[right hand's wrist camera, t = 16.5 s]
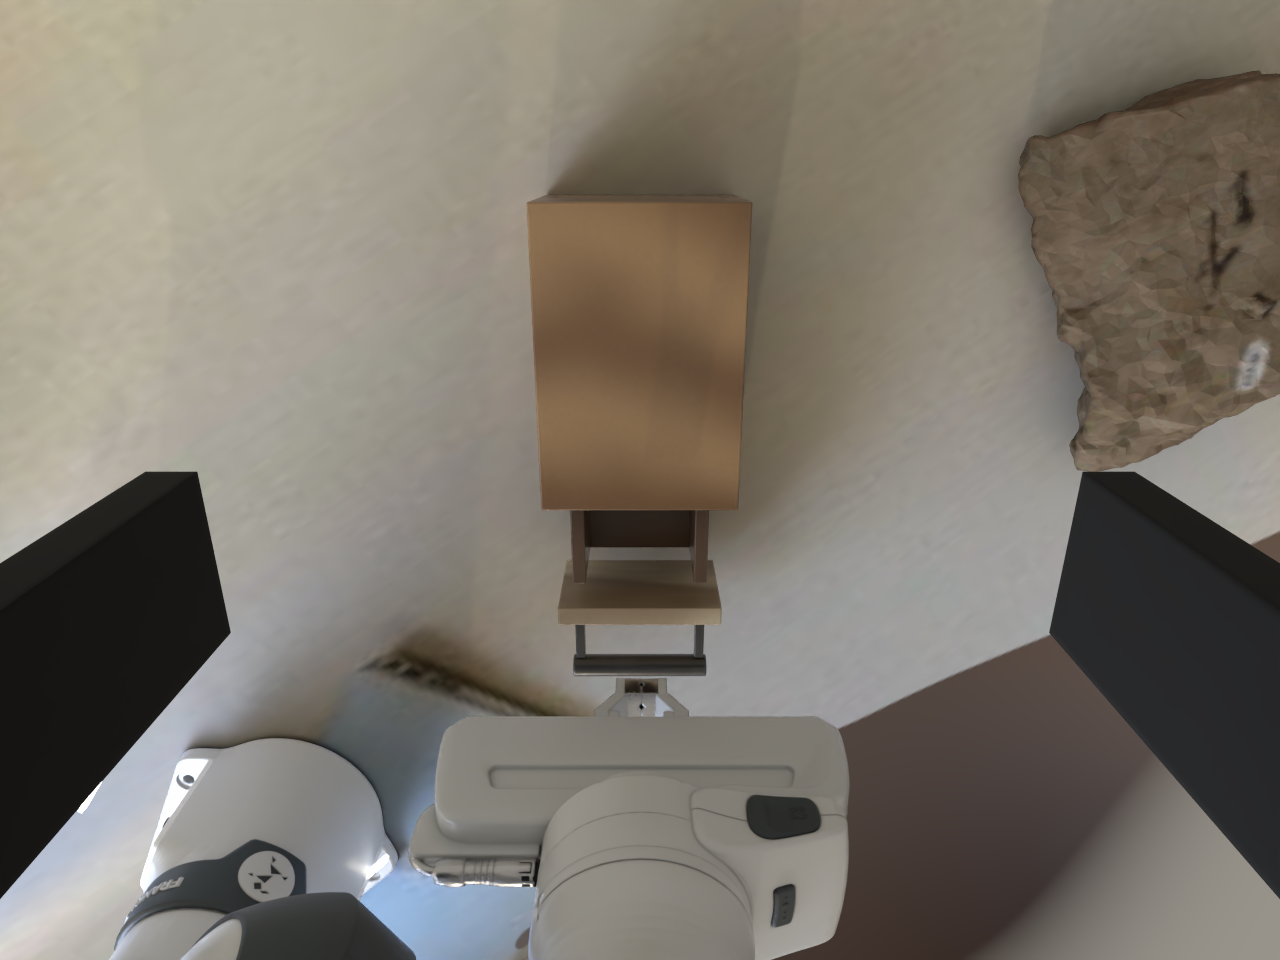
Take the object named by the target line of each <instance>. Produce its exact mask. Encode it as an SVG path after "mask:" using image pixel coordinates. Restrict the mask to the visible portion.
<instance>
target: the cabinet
mask: <svg viewBox="0 0 1280 960" xmlns="http://www.w3.org/2000/svg"><path fill="white" fill-rule="evenodd" d="M751 217H752V202H749V201H747V200H744V199H742V198H739V197H737V196H734V195H545V196H543V197H540V198H538V199H535V200H532V201H530V202H527V221H528V241H529V262H530V283H531V304H532V324H533V345H534V366H535V387H536V408H537V428H538V449H539V470H540V491H541V509H542V510H738V497H739V476H740V454H741V433H742V411H743V389H744V368H745V346H746V325H747V303H748V282H749V260H750V238H751Z"/></svg>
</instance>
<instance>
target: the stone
mask: <svg viewBox="0 0 1280 960" xmlns="http://www.w3.org/2000/svg"><path fill="white" fill-rule="evenodd" d="M1019 163H1020V165H1021V169H1020V171H1019V174H1018V176H1019V191H1020V195H1021V197H1022V199H1023V202H1024V206H1025V207H1026V209H1027V210H1028V211H1029V213H1030V214H1031V215H1032V217H1033V219H1034V221H1033V225H1032V229H1031V231H1032V249H1033V251H1034V253H1035V256H1036V258H1037V260H1038V261H1039V263H1040V264H1041V265H1042V266H1043V268H1044V272H1045V275H1046V278H1047V280H1048V282H1049V285H1050V287H1051V288H1052V289H1053V293H1052V296H1053V299H1054V301H1055V303H1056V305H1057V323H1058V326H1057V335H1058V337H1059V339H1060V340H1061V341H1062V342H1066V343H1068V344H1069V345H1071V346H1072V347H1073V348H1074V350H1075V359H1076V361H1077V363H1078V365H1079V368H1080V377H1081V379H1082V381H1083V383H1084V384H1085V388H1084V391H1083V393H1082V395H1081V397H1080V398H1079V400H1078V408H1077V415H1078V419H1079V424H1080V426H1079V430H1078V432H1077V434H1076V435H1075V437H1074V438H1073V439H1072V441H1071V443H1070V451H1071V453H1072V456H1073V458H1074V464H1075V466H1076V469H1077V470H1085V471H1091V472H1098V471H1103V470H1107V469H1112V468H1120V467H1124V466H1126V465H1128V464H1130V463H1135V462H1140V461H1142V460H1144V459H1146V458H1148V457H1151V456H1153V455H1155V454H1157V453H1159V452H1160V451H1161V450H1163V449H1165V448H1168V447H1171V446H1174V445H1178V444H1180V443H1181V442H1183V441H1185V440H1187V439H1190V438H1192V437H1193V436H1194V435H1195V434H1196V433H1197V432H1199V431H1200V430H1202V429H1203V428H1205V427H1207V426H1210V425H1212V424H1214V423H1215V422H1217V421H1218V420H1220V419H1222V418H1224V417H1231V416H1235V415H1238V414H1239V413H1241V412H1243V411H1245V410H1247V409H1248V408H1250V407H1251V406H1253V405H1254V404H1256V403H1258V402H1261V401H1264V400H1266V399H1269V398H1271V397H1275V396H1276V395H1278V394H1280V74H1261V72H1260V71H1252V72H1247V73H1243V74H1238V75H1232V76H1227V77H1221V78H1214V79H1197V80H1194V81H1191V82H1188V83H1184V84H1181V85H1178V86H1175V87H1173V88H1170V89H1166V90H1162V91H1159V92H1157V93H1154V94H1152V95H1149V96H1146V97H1144V98H1143V99H1141V100H1140V101H1139V102H1137V103H1136V104H1135V105H1133V106H1132V107H1130V108H1129V109H1127V110H1125V111H1121V112H1110V113H1108V114H1104V115H1103V116H1101V117H1100V118H1099V119H1097V120H1094V121H1091V122H1087V123H1084V124H1080V125H1077V126H1076V127H1074V128H1073V129H1071V130H1068V131H1065V132H1062V133H1059V134H1057V135H1054V136H1051V137H1049V138H1048V137H1044V136H1033V137H1031V138H1029V139H1028V141H1027V143H1026V146H1025V149H1024V151H1023V153H1022V155H1021V156H1020V162H1019Z"/></svg>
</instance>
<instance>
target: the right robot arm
mask: <svg viewBox="0 0 1280 960" xmlns="http://www.w3.org/2000/svg"><path fill="white" fill-rule="evenodd" d="M230 633H231V632H230V627H229V622H228V617H227V613H226V608H225V603H224V598H223V593H222V589H221V584H220V579H219V574H218V569H217V565H216V560H215V555H214V550H213V545H212V541H211V536H210V531H209V526H208V521H207V517H206V512H205V507H204V502H203V497H202V493H201V488H200V483H199V478H198V473H197V472H144V473H143V474H141V475H140V476H138V477H136V478H135V479H133V480H132V481H130V482H129V483H127V484H125V485H124V486H122V487H121V488H119V489H117V490H116V491H114V492H113V493H111V494H109V495H108V496H106V497H105V498H103V499H102V500H100V501H98V502H97V503H95V504H94V505H92V506H90V507H89V508H87V509H86V510H84V511H83V512H81V513H79V514H78V515H76V516H75V517H73V518H71V519H70V520H68V521H67V522H65V523H64V524H62V525H60V526H59V527H57V528H56V529H54V530H52V531H51V532H49V533H48V534H46V535H44V536H43V537H41V538H40V539H38V540H37V541H35V542H33V543H32V544H30V545H29V546H27V547H25V548H24V549H22V550H21V551H19V552H18V553H16V554H14V555H13V556H11V557H10V558H8V559H6V560H5V561H3V562H2V563H0V899H1V897H2V896H3V895H4V894H5V893H6V892H7V890H8V889H9V888H10V887H11V886H12V885H13V884H14V882H15V881H16V880H17V879H18V878H19V877H20V875H21V874H22V873H23V872H24V871H25V870H26V869H27V867H28V866H29V865H30V864H31V863H32V862H33V860H34V859H35V858H36V857H37V856H38V855H39V854H40V852H41V851H42V850H43V849H44V848H45V847H46V845H47V844H48V843H49V842H50V841H51V840H52V839H53V837H54V836H55V835H56V834H57V833H58V832H59V830H60V829H61V828H62V827H63V826H64V825H65V823H66V822H67V821H68V820H69V819H70V818H71V817H72V815H73V814H74V813H75V812H76V811H77V810H78V808H79V807H80V806H81V805H82V804H83V803H84V802H85V800H86V799H87V798H88V797H89V796H90V795H91V793H92V792H93V791H94V790H95V789H96V788H97V787H98V785H99V784H100V783H101V782H102V781H103V780H104V778H105V777H106V776H107V775H108V774H109V773H110V772H111V770H112V769H113V768H114V767H115V766H116V765H117V763H118V762H119V761H120V760H121V759H122V758H123V756H124V755H125V754H126V753H127V752H128V751H129V750H130V748H131V747H132V746H133V745H134V744H135V743H136V741H137V740H138V739H139V738H140V737H141V736H142V735H143V733H144V732H145V731H146V730H147V729H148V728H149V726H150V725H151V724H152V723H153V722H154V721H155V720H156V718H157V717H158V716H159V715H160V714H161V713H162V711H163V710H164V709H165V708H166V707H167V706H168V705H169V703H170V702H171V701H172V700H173V699H174V698H175V696H176V695H177V694H178V693H179V692H180V691H181V689H182V688H183V687H184V686H185V685H186V684H187V683H188V681H189V680H190V679H191V678H192V677H193V676H194V674H195V673H196V672H197V671H198V670H199V669H200V668H201V666H202V665H203V664H204V663H205V662H206V661H207V659H208V658H209V657H210V656H211V655H212V654H213V653H214V651H215V650H216V649H217V648H218V647H219V646H220V644H221V643H222V642H223V641H224V640H225V639H226V638H227V636H228V635H229V634H230ZM1049 633H1050V634H1051V635H1052V636H1053V637H1054V639H1055V640H1056V641H1057V642H1058V643H1059V644H1060V646H1061V647H1062V648H1063V649H1064V650H1065V651H1066V653H1067V654H1068V655H1069V656H1070V657H1071V658H1072V659H1073V661H1074V662H1075V663H1076V664H1077V665H1078V666H1079V668H1080V669H1081V670H1082V671H1083V672H1084V673H1085V674H1086V676H1087V677H1088V678H1089V679H1090V680H1091V681H1092V683H1093V684H1094V685H1095V686H1096V687H1097V688H1098V689H1099V691H1100V692H1101V693H1102V694H1103V695H1104V696H1105V698H1106V699H1107V700H1108V701H1109V702H1110V703H1111V705H1112V706H1113V707H1114V708H1115V709H1116V710H1117V711H1118V713H1119V714H1120V715H1121V716H1122V717H1123V718H1124V719H1125V721H1126V722H1127V723H1128V724H1129V725H1130V726H1131V728H1132V729H1133V730H1134V731H1135V732H1136V733H1137V735H1138V736H1139V737H1140V738H1141V739H1142V740H1143V741H1144V743H1145V744H1146V745H1147V746H1148V747H1149V748H1150V750H1151V751H1152V752H1153V753H1154V754H1155V755H1156V756H1157V758H1158V759H1159V760H1160V761H1161V762H1162V763H1163V765H1164V766H1165V767H1166V768H1167V769H1168V770H1169V771H1170V773H1171V774H1172V775H1173V776H1174V777H1175V778H1176V780H1177V781H1178V782H1179V783H1180V784H1181V785H1182V786H1183V788H1184V789H1185V790H1186V791H1187V792H1188V793H1189V795H1190V796H1191V797H1192V798H1193V799H1194V800H1195V802H1196V803H1197V804H1198V805H1199V806H1200V807H1201V808H1202V810H1203V811H1204V812H1205V813H1206V814H1207V815H1208V817H1209V818H1210V819H1211V820H1212V821H1213V822H1214V823H1215V825H1216V826H1217V827H1218V828H1219V829H1220V830H1221V832H1222V833H1223V834H1224V835H1225V836H1226V837H1227V839H1228V840H1229V841H1230V842H1231V843H1232V844H1233V845H1234V847H1235V848H1236V849H1237V850H1238V851H1239V852H1240V854H1241V855H1242V856H1243V857H1244V858H1245V859H1246V860H1247V862H1248V863H1249V864H1250V865H1251V866H1252V867H1253V869H1254V870H1255V871H1256V872H1257V873H1258V874H1259V875H1260V877H1261V878H1262V879H1263V880H1264V881H1265V882H1266V884H1267V885H1268V886H1269V887H1270V888H1271V889H1272V890H1273V892H1274V893H1275V894H1276V895H1277V896H1278V897H1279V899H1280V563H1278V562H1277V561H1275V560H1274V559H1272V558H1270V557H1269V556H1267V555H1266V554H1264V553H1262V552H1261V551H1259V550H1258V549H1256V548H1254V547H1253V546H1251V545H1250V544H1248V543H1247V542H1245V541H1243V540H1242V539H1240V538H1239V537H1237V536H1236V535H1234V534H1232V533H1231V532H1229V531H1228V530H1226V529H1224V528H1223V527H1221V526H1220V525H1218V524H1216V523H1215V522H1213V521H1212V520H1210V519H1209V518H1207V517H1205V516H1204V515H1202V514H1201V513H1199V512H1197V511H1196V510H1194V509H1193V508H1191V507H1190V506H1188V505H1186V504H1185V503H1183V502H1182V501H1180V500H1178V499H1177V498H1175V497H1174V496H1172V495H1171V494H1169V493H1167V492H1166V491H1164V490H1163V489H1161V488H1159V487H1158V486H1156V485H1155V484H1153V483H1151V482H1150V481H1148V480H1147V479H1145V478H1144V477H1142V476H1140V475H1139V474H1137V473H1136V472H1083V473H1082V478H1081V483H1080V488H1079V493H1078V497H1077V502H1076V507H1075V512H1074V517H1073V521H1072V526H1071V531H1070V536H1069V541H1068V545H1067V550H1066V555H1065V560H1064V565H1063V569H1062V574H1061V579H1060V584H1059V589H1058V593H1057V598H1056V603H1055V608H1054V613H1053V617H1052V622H1051V627H1050V632H1049Z"/></svg>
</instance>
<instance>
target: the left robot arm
mask: <svg viewBox="0 0 1280 960" xmlns="http://www.w3.org/2000/svg"><path fill="white" fill-rule="evenodd" d="M190 775H191V776H190ZM192 776H193V777H192ZM100 784H101V783H100ZM100 784H99V785H98V787H97V788H96V789H95V790H94V791H93V792H92V793H91V795H90V796H89V797H88V798H87V799H86V800H85V802H84V803H83V804H82V805H81V807H80V808H79V810H78V812H80V813H82V812H83V811H84V810H85V809H86V808H87V807H88V805H89V803H90V801H91V800H92V798H93V796H94V794H95V793H96V791H97V789H98V788H99V786H100ZM849 787H850V781H849V770H848V763H847V757H846V752H845V748H844V744H843V741H842V738H841V735H840V733H839V731H838V729H837V728H836V727H834V726H833V725H831V724H830V723H828V722H826V721H825V720H823V719H821V718H819V717H814V716H803V717H689V711H688V710H687V709H686V708H685V707H684V706H683V705H681V704H680V703H679V702H678V701H677V700H676V699H675V698H673V697H672V696H671V695H670V694H667V679H666V678H658V679H634V678H617V679H616V694H613V695H612V696H610V697H609V698H608V699H607V700H606V701H605V702H604V703H602V704H601V705H600V706H599V707H598V708H597V709H596V710H594V717H488V716H471V717H465V718H463V719H461V720H459V721H458V722H456V723H454V724H453V725H451V726H450V727H449V728H447V729H446V731H445V733H444V735H443V738H442V742H441V746H440V751H439V756H438V761H437V768H436V776H435V804H433V805H431V806H430V807H428V808H427V809H426V810H425V811H424V812H423V813H422V814H421V815H420V817H419V818H418V820H417V823H416V826H415V829H414V832H413V835H412V838H411V841H410V844H409V847H408V857H409V860H410V863H411V864H412V866H413V867H414V868H415V869H416V870H417V871H419V872H420V873H422V874H424V875H427V876H431V877H433V880H434V883H435V884H437V885H441V886H447V887H461V886H465V885H466V884H475V883H476V884H483V885H490V886H494V885H495V886H498V887H536V891H535V898H534V905H533V912H532V920H531V926H530V935H529V943H528V957H529V960H772V959H775V958H778V957H780V956H784V955H787V954H790V953H793V952H796V951H799V950H802V949H806V948H809V947H813V946H816V945H819V944H822V943H824V942H826V941H828V940H829V939H831V938H832V937H833V936H834V934H835V931H836V928H837V925H838V921H839V918H840V914H841V910H842V906H843V901H844V895H845V889H846V883H847V874H848V859H849V839H848V825H847V809H848V798H849ZM397 861H398V855H397V852H396V850H395V848H394V846H393V844H392V843H391V841H390V840H389V838H388V837H387V835H386V834H385V831H384V826H383V816H382V809H381V805H380V802H379V799H378V797H377V794H376V792H375V790H374V789H373V787H372V785H371V784H370V783H369V781H368V780H367V779H366V777H365V776H364V775H363V774H362V773H361V772H360V771H359V770H358V769H357V768H356V767H355V766H353V765H352V764H351V763H350V762H348V761H347V760H346V759H344V758H342V757H341V756H339V755H338V754H336V753H334V752H332V751H330V750H328V749H326V748H323V747H321V746H318V745H315V744H312V743H309V742H305V741H300V740H294V739H285V738H267V739H259V740H254V741H249V742H246V743H243V744H240V745H237V746H234V747H230V748H225V749H212V748H195V749H190V750H187V751H185V752H184V753H183V754H182V756H181V758H180V759H179V761H178V763H177V765H176V768H175V771H174V774H173V778H172V781H171V784H170V787H169V790H168V793H167V797H166V800H165V803H164V806H163V809H162V812H161V816H160V819H159V822H158V825H157V828H156V831H155V835H154V838H153V841H152V844H151V847H150V850H149V854H148V857H147V860H146V863H145V866H144V869H143V873H142V876H141V880H140V885H141V887H142V889H143V890H144V893H143V896H141V897H140V899H139V900H138V901H137V902H136V903H135V905H134V907H133V908H132V910H131V911H130V913H129V915H128V916H127V918H126V920H125V922H124V924H123V925H124V926H123V927H122V929H121V931H120V933H119V935H118V937H117V939H116V943H115V947H114V953H113V954H112V956H111V957H110V959H109V960H416V956H415V954H414V953H413V951H412V950H411V949H410V948H409V947H408V946H407V945H405V944H404V943H403V942H402V941H401V940H400V939H399V938H398V937H397V936H396V935H395V934H394V933H393V932H392V931H391V930H389V929H388V928H387V927H386V926H385V925H384V924H383V923H382V922H381V921H380V920H379V919H378V918H377V917H376V916H375V915H374V914H372V913H371V912H370V911H369V910H368V909H367V908H366V907H365V906H364V905H363V904H362V903H361V902H360V899H361V897H362V895H363V894H365V893H366V892H367V891H368V890H370V889H371V888H372V887H373V886H375V885H376V884H377V883H379V882H380V881H381V880H382V879H384V878H385V877H386V876H387V875H389V874H390V873H391V872H392V871H393V869H394V867H395V865H396V863H397Z"/></svg>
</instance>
